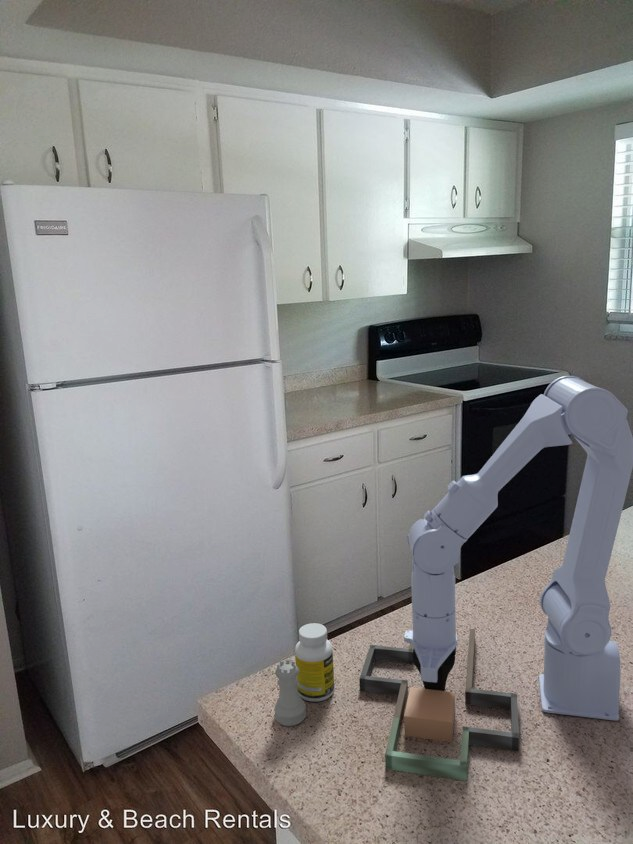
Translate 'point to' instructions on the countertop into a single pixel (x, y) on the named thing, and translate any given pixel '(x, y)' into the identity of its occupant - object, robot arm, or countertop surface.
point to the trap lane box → (469, 734)
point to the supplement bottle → (314, 663)
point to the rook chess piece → (289, 696)
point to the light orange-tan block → (430, 714)
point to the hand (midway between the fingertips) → (435, 696)
